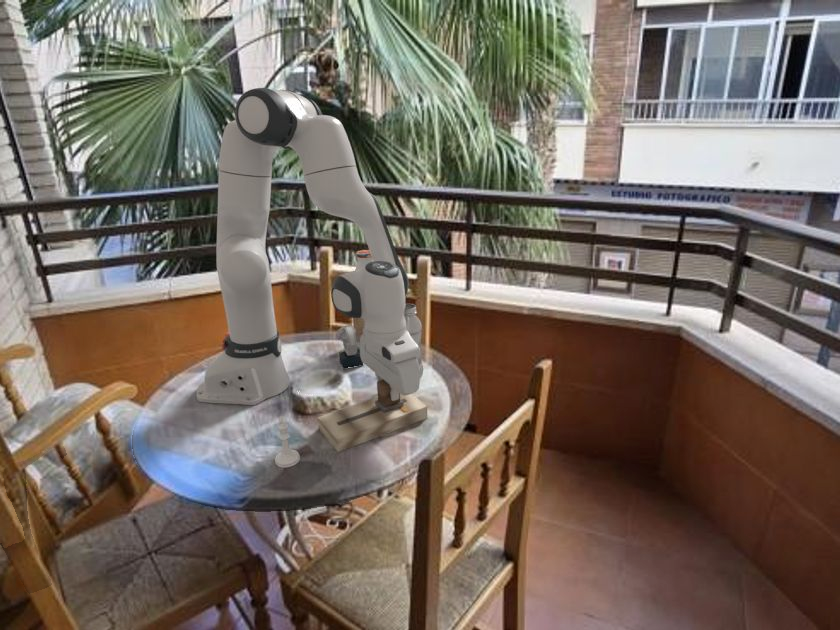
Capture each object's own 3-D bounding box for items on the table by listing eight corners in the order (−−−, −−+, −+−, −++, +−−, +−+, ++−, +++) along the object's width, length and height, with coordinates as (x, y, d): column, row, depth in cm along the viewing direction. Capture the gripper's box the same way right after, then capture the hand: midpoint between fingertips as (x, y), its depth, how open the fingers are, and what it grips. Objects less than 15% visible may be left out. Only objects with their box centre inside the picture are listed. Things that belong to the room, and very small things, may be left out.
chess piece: (292, 449, 111) (286, 407, 107) (304, 460, 108) (299, 417, 104) (270, 459, 108) (264, 417, 104) (282, 470, 105) (276, 427, 101)
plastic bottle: (424, 373, 140) (423, 301, 133) (422, 385, 134) (420, 311, 127) (400, 372, 141) (397, 301, 134) (396, 385, 135) (393, 311, 127)
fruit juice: (357, 353, 152) (350, 258, 142) (352, 340, 161) (345, 249, 150) (390, 348, 154) (385, 254, 144) (383, 336, 163) (378, 246, 152)
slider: (383, 412, 117) (382, 388, 115) (375, 404, 120) (373, 381, 118) (403, 405, 120) (402, 382, 117) (394, 398, 123) (393, 374, 121)
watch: (357, 356, 151) (354, 319, 146) (365, 368, 144) (362, 330, 139) (337, 359, 149) (334, 323, 145) (344, 372, 142) (341, 334, 138)
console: (338, 452, 110) (336, 439, 109) (318, 429, 118) (317, 416, 116) (427, 417, 121) (427, 405, 120) (404, 398, 129) (403, 387, 127)
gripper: (350, 325, 120) (355, 379, 126) (397, 359, 104) (399, 419, 110) (375, 319, 124) (378, 372, 129) (424, 351, 107) (425, 410, 113)
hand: (388, 394), depth 119 cm, fingers closed on slider, 3 cm apart
